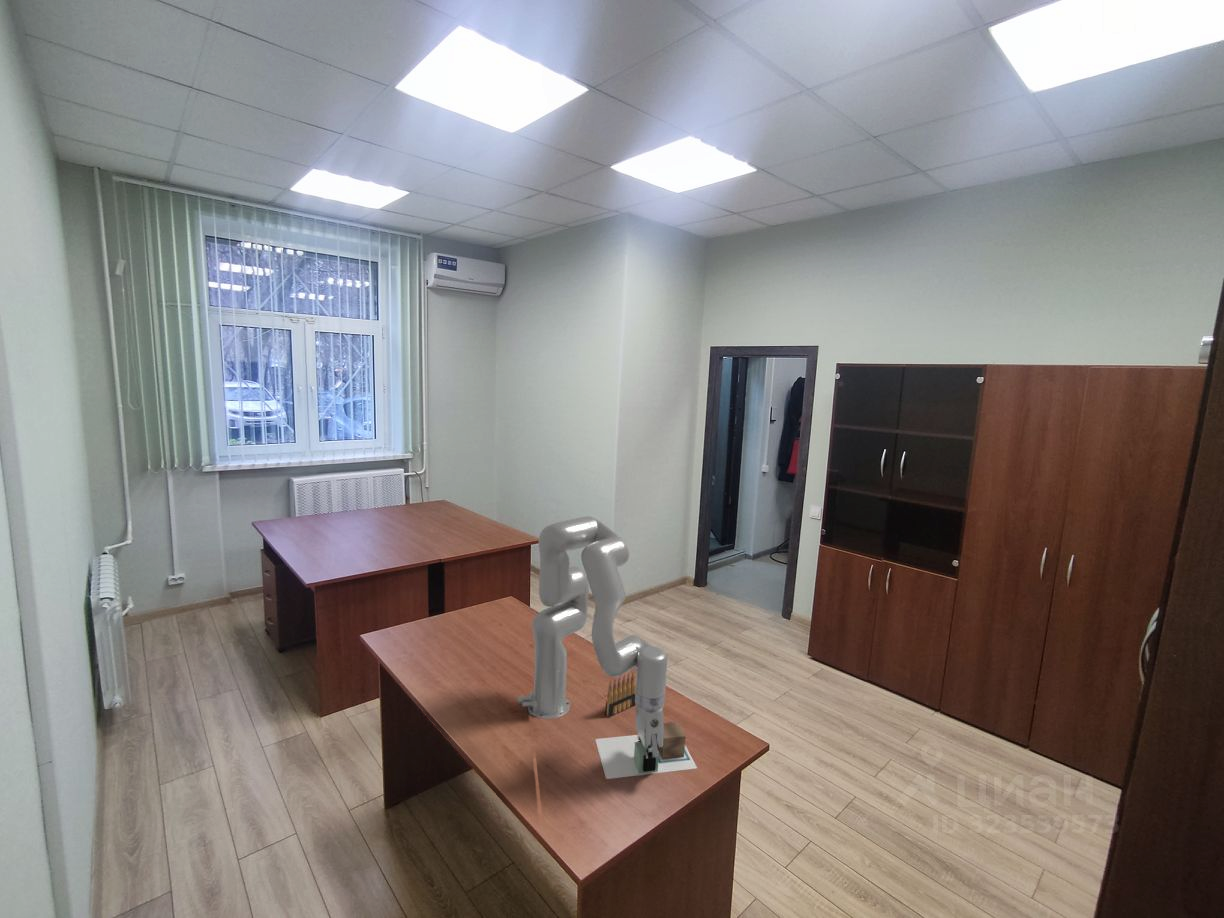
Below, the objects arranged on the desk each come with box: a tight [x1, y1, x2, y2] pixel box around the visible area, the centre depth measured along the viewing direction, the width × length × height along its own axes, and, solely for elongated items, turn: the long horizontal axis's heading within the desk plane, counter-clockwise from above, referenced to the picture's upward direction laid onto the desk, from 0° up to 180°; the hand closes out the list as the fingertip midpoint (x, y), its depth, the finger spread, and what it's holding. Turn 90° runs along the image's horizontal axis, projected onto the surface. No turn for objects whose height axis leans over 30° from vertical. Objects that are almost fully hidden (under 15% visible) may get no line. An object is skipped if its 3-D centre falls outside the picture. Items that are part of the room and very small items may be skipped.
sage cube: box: [634, 742, 659, 774], centre depth 136 cm, size 5×5×5 cm
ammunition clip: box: [604, 670, 637, 718], centre depth 158 cm, size 11×2×12 cm, turn 129°
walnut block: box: [657, 721, 686, 760], centre depth 142 cm, size 6×6×6 cm
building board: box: [595, 734, 698, 780], centre depth 141 cm, size 24×15×1 cm, turn 102°
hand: (645, 761), depth 136 cm, fingers closed on sage cube, 4 cm apart
